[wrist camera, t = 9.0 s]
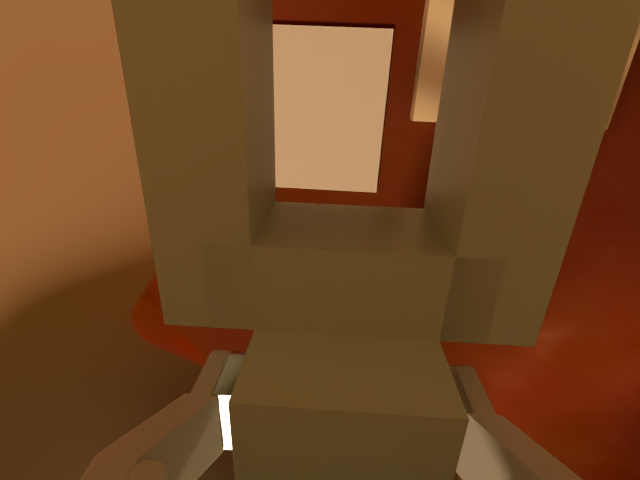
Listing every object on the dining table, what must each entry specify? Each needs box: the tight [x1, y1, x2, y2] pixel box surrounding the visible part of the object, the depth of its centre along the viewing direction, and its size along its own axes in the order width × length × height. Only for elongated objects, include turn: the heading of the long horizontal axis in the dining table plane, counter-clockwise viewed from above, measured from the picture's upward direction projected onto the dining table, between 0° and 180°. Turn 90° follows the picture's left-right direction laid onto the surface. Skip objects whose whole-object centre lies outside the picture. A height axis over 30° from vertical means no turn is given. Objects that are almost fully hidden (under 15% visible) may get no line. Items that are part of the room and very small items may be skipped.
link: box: [111, 0, 640, 480], centre depth 7 cm, size 15×8×5 cm, turn 178°
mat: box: [273, 24, 394, 192], centre depth 28 cm, size 12×10×1 cm
